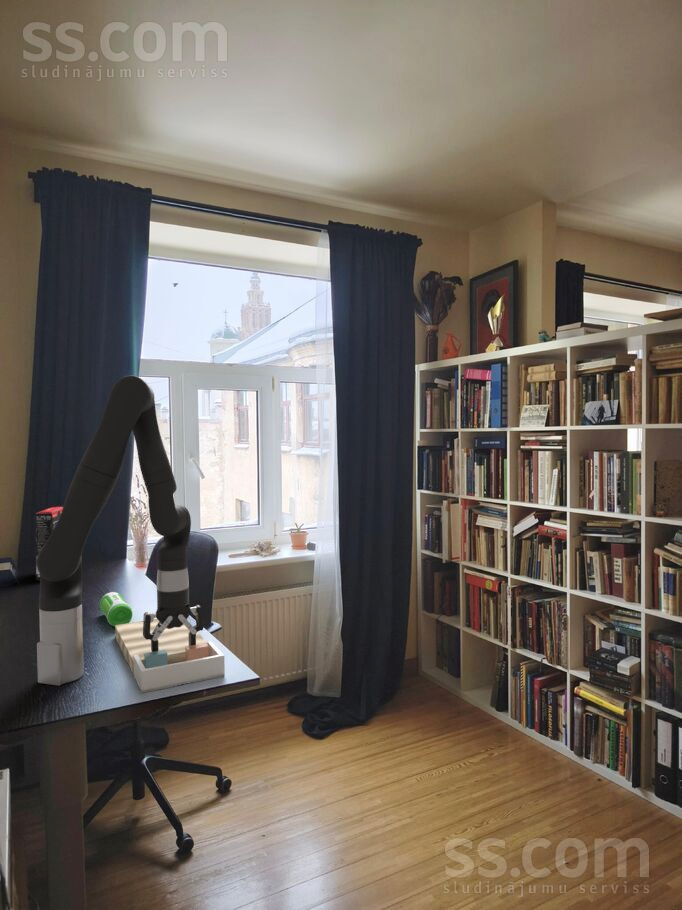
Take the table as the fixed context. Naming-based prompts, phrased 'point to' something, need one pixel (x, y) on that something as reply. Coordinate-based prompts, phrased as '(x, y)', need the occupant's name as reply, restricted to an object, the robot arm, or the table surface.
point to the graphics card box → (45, 528)
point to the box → (179, 671)
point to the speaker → (115, 609)
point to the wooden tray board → (135, 642)
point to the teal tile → (155, 659)
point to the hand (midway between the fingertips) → (174, 651)
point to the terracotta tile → (196, 651)
